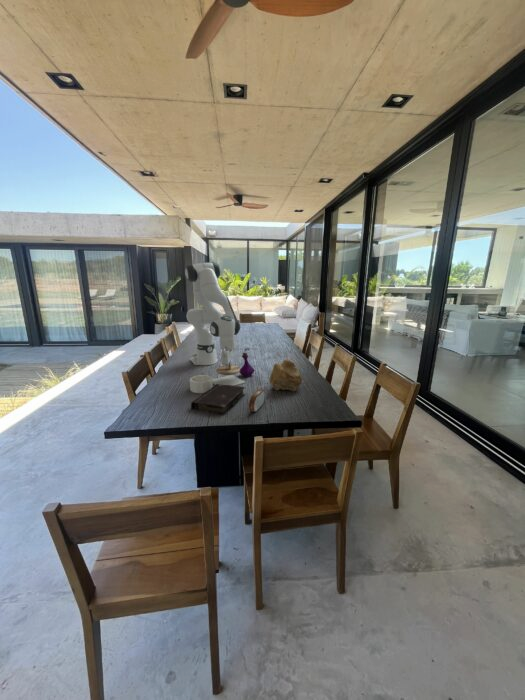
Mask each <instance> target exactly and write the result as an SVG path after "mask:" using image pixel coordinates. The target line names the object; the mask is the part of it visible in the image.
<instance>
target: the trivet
mask: <svg viewBox="0 0 525 700" xmlns="http://www.w3.org/2000/svg"><path fill="white" fill-rule="evenodd" d="M216 384H222V385H234V386H240V385H244V384H247V382H246V381H244V380H243V379H241V378H239V377H237V376H235V375H234V374H233V375H223V376H222V377H218V378H217V377H216V378H213V385H214V386H215V385H216Z"/></svg>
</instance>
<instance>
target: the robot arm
mask: <svg viewBox="0 0 525 700" xmlns="http://www.w3.org/2000/svg"><path fill="white" fill-rule="evenodd" d="M184 275H185V278H186V279H187V280H188V281H189V282H191V283H192V289H193V297H194V301H195V302H196V303H197V305H200V306H201V307H202V308H197V307H196V308H191V309H188V311H187V312H186V320H187V321H188V322H187V323H189V324H190V325H192V327H193V328H194V329H195V332H196V336H197V337H196V338H197V344H196V349H195V351H193V353H192V354H191V355H192V357H191V358H189V360H190V361H191V362H192V363H193V365H194V366H196V365H197V366H211V365H215V364H217V362H218V361H219V359H218V357H217V356H218V355H217V354H218V353H217V350H216V349H215V347H216V345H215V342H214V340H215V339H214V338H215V337H216V338H217V337H219V349H221V358H220V359H221V362H220V363H221V366H226V369H229V362H230V363H231V362H232V358H233V356H234V353H235V348H236V341H235V340H236V339H235V336H237V335H238V334H239V333H240V331H241V323H240V321H239V320H238V318H237V316H236V314H235V311H234V309H233V307H232V304H231V301H230V300H229V296H228V295H227V294H226V293H224V292H223V291H222V288H221V287H220V283H219V280H218V279H219V278H220V276H221V267H220V264H218V263H217V262H214V261H212V262H200V263H193V264H192V263H191V264H188V265H186V267H185V269H184ZM215 304H217V305H219V306H221V307H222V308H223V312H224V313H225V315H224V314H223V312H222V311H221V309H219V308H218V307H217V306H216V305H215ZM206 325H209V328H208V327H207V326H206Z"/></svg>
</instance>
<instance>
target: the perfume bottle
mask: <svg viewBox="0 0 525 700" xmlns="http://www.w3.org/2000/svg"><path fill="white" fill-rule="evenodd" d="M243 351H244V352H242V355H241V358H243V360H244V363H243V366H241V368H240V372H239V374H240V375H241V376H243V377H246V378H248V377H250V376H252V375H253V374H254V372H255V368H253V366H252V365H251V364H250V362H249V361H248V358H249V355H248V353H247V351H250V348H249V347H244V349H243Z"/></svg>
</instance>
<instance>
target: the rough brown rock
mask: <svg viewBox="0 0 525 700" xmlns="http://www.w3.org/2000/svg"><path fill="white" fill-rule="evenodd" d="M302 381H303V377H302V374H300V373H299V371H298V368H297V367H296V364H295V363H294V361H292V360H291V359H288V358H285V359H284V360H283V361H282V363H281V364H279V363H278V362H275V363H274V365H273V368H272V370H271V373H270V377H269V384H272V386H273V389H274V391H280V390H282V391H285V390H288V391H291V392H296V391H297V390H298V388H299V387H300V385H301V384H302Z"/></svg>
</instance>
